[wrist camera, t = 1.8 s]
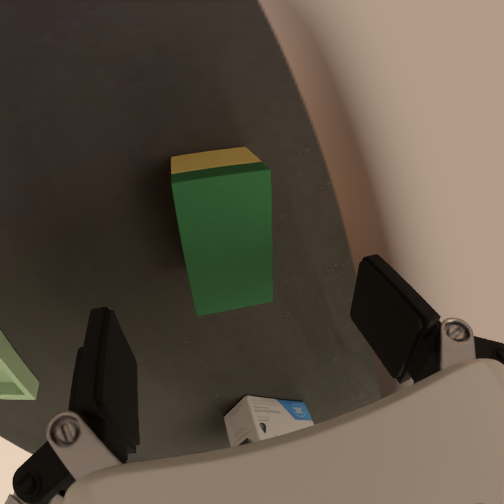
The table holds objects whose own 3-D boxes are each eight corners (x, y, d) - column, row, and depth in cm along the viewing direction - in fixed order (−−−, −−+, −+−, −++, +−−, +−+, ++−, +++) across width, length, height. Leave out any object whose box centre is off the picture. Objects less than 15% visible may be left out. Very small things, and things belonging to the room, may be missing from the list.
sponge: (170, 156, 15) (170, 183, 11) (245, 146, 16) (271, 169, 12) (189, 267, 19) (196, 316, 15) (251, 255, 19) (273, 301, 16)
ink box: (306, 399, 32) (354, 508, 20) (280, 421, 33) (320, 522, 21) (245, 393, 28) (290, 529, 16) (220, 416, 29) (255, 539, 17)
